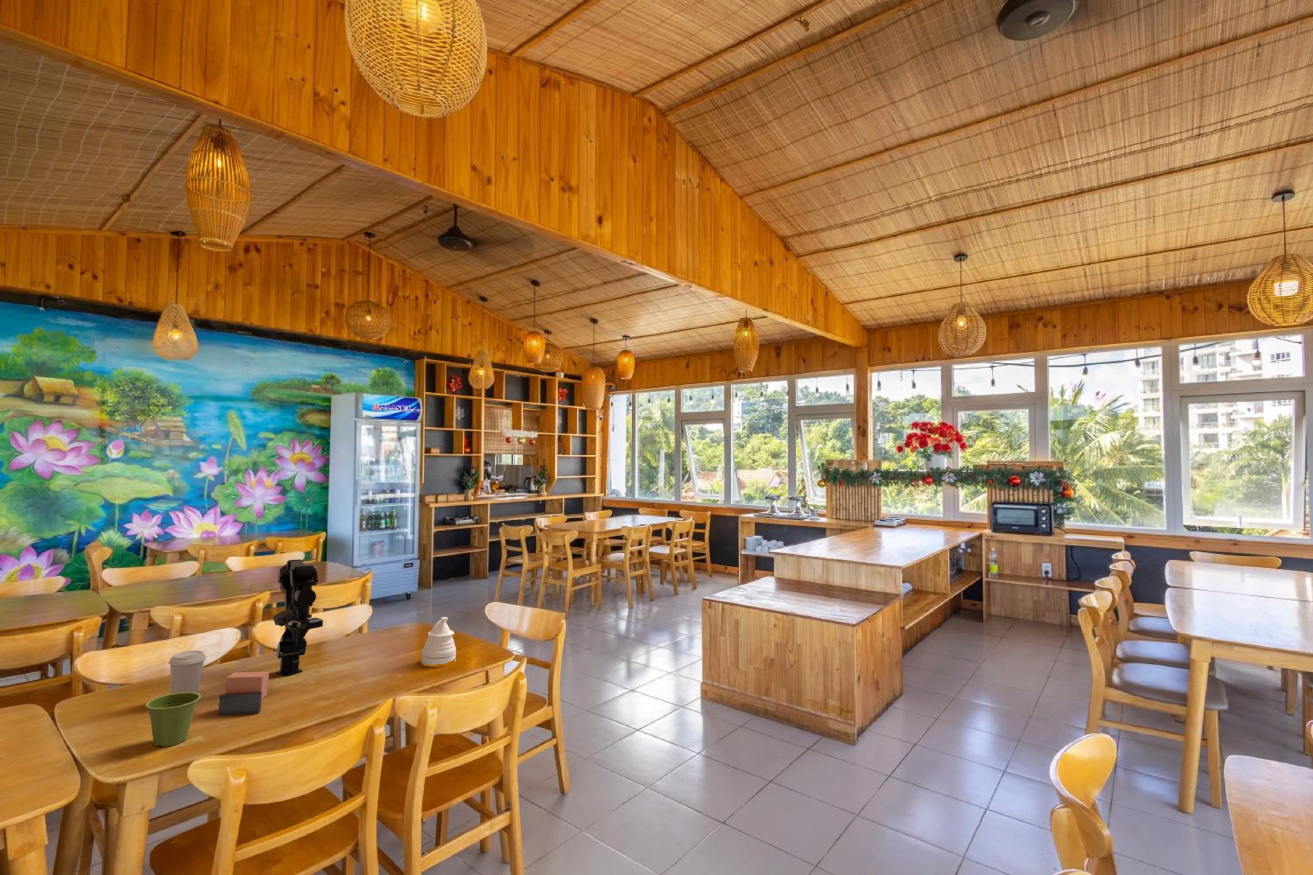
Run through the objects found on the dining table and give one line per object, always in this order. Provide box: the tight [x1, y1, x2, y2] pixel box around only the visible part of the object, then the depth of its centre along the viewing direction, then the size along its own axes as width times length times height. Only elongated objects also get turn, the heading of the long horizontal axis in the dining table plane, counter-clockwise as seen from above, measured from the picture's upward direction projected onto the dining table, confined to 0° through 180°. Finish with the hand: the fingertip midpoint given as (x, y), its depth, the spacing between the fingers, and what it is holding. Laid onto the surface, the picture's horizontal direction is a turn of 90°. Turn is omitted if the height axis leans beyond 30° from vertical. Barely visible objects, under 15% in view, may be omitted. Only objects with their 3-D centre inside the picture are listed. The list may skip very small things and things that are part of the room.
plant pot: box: [145, 692, 201, 748], centre depth 164 cm, size 12×12×11 cm
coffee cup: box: [168, 650, 207, 694], centre depth 192 cm, size 10×10×15 cm
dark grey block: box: [217, 692, 263, 716], centre depth 190 cm, size 14×11×6 cm
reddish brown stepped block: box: [224, 671, 270, 705], centre depth 188 cm, size 5×10×10 cm, turn 102°
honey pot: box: [421, 616, 457, 665], centre depth 240 cm, size 13×13×18 cm
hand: (297, 645), depth 213 cm, fingers closed
